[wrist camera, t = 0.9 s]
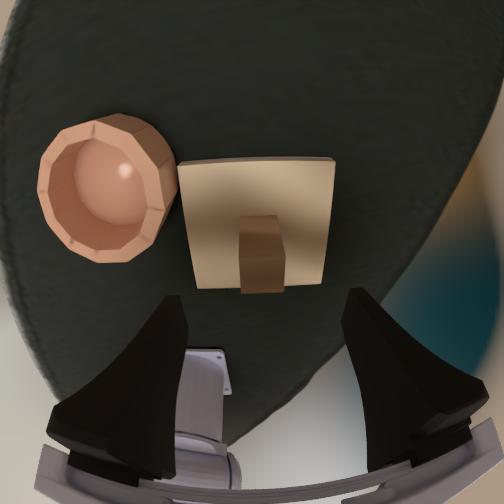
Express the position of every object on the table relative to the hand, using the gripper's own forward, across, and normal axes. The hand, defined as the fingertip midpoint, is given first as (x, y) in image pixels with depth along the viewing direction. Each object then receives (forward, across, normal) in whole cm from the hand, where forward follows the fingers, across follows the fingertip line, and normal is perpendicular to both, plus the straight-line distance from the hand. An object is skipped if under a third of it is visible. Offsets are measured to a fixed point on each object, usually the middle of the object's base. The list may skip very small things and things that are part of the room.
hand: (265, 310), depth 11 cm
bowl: (+8, +9, -4) cm, 13 cm away
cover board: (+7, 0, 0) cm, 7 cm away
